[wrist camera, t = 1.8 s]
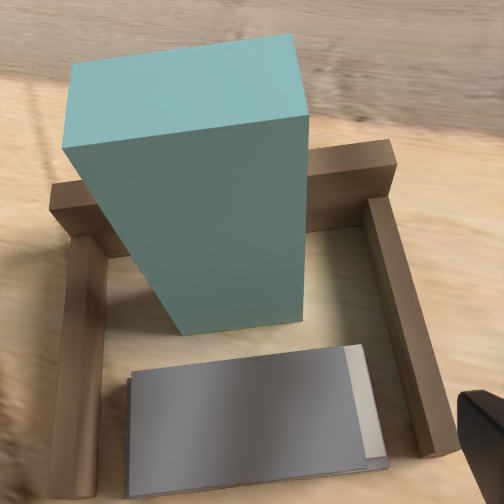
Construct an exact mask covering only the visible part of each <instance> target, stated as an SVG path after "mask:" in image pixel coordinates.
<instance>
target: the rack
mask: <svg viewBox="0 0 504 504" xmlns="http://www.w3.org/2000/svg"><path fill="white" fill-rule="evenodd" d="M396 167H397V162H396V159H395V155H394V152H393V149H392V146H391V143H390V140H389V139H385V140H377V141H370V142H362V143H355V144H347V145H340V146H333V147H325V148H318V149H310V150H308V168H307V199H306V231H305V233H306V232H313V231H321V230H329V229H336V228H344V227H352V226H360V225H362V228H363V232H364V236H365V240H366V244H367V248H368V252H369V256H370V260H371V264H372V267H373V271H374V275H375V279H376V283H377V287H378V291H379V295H380V299H381V303H382V307H383V311H384V315H385V319H386V323H387V327H388V331H389V335H390V339H391V343H392V347H393V351H394V355H395V359H396V363H397V367H398V371H399V375H400V379H401V383H402V387H403V391H404V395H405V398H406V402H407V406H408V410H409V414H410V418H411V422H412V426H413V430H414V434H415V438H416V442H417V446H418V450H419V454H420V458H421V459H422V458H430V457H439V456H445V455H448V454H450V453H453V452H456V451H458V450H461V449H462V448H461V446H460V443H459V439H458V433H457V430H456V426H455V423H454V419H453V416H452V413H451V409H450V406H449V402H448V399H447V396H446V392H445V389H444V385H443V382H442V379H441V375H440V372H439V368H438V365H437V362H436V358H435V355H434V351H433V348H432V345H431V341H430V338H429V334H428V331H427V327H426V324H425V321H424V317H423V314H422V310H421V307H420V304H419V300H418V297H417V293H416V290H415V287H414V283H413V280H412V276H411V273H410V270H409V266H408V263H407V259H406V256H405V253H404V249H403V246H402V242H401V239H400V235H399V232H398V229H397V225H396V222H395V218H394V215H393V212H392V208H391V205H390V201H389V198H388V194H389V191H390V187H391V184H392V180H393V177H394V174H395V170H396ZM49 211H50V212H51V213H52V215H53V216H54V217H55V218H56V220H57V221H58V222H59V223H60V224H61V226H62V227H63V228H64V229H65V231H66V232H67V233H68V234H69V235H70V237H71V246H70V256H69V267H68V277H67V288H66V298H65V309H64V319H63V330H62V340H61V351H60V361H59V372H58V382H57V393H56V403H55V414H54V424H53V435H52V445H51V456H50V466H49V477H48V487H47V498H50V499H68V500H75V499H84V498H92V497H96V484H97V464H98V444H99V425H100V405H101V385H102V366H103V346H104V326H105V306H106V287H107V267H108V258H113V257H120V256H128V255H130V253H129V252H128V250H127V249H126V247H125V246H124V244H123V242H122V241H121V239H120V238H119V236H118V235H117V233H116V232H115V230H114V228H113V227H112V225H111V224H110V222H109V221H108V219H107V218H106V216H105V215H104V213H103V211H102V210H101V208H100V207H99V205H98V204H97V202H96V201H95V199H94V197H93V196H92V194H91V193H90V191H89V190H88V188H87V187H86V185H85V183H84V182H83V180H78V181H70V182H63V183H55V184H52V189H51V197H50V205H49Z"/></svg>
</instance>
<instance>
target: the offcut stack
mask: <svg viewBox="0 0 504 504" xmlns="http://www.w3.org/2000/svg"><path fill="white" fill-rule="evenodd" d="M388 468H390V465H389V461H388V456H387V452H386V447H385V443H384V438H383V434H382V429H381V425H380V420H379V416H378V411H377V407H376V402H375V398H374V393H373V389H372V384H371V380H370V375H369V370H368V366H367V361H366V357H365V352H364V349H362V344H359V345H351V346H336V347H328V348H320V349H312V350H304V351H295V352H287V353H279V354H271V355H263V356H255V357H247V358H239V359H231V360H223V361H215V362H207V363H199V364H191V365H183V366H175V367H166V368H158V369H150V370H142V371H134V372H132V373H131V378H127V404H126V444H125V484H124V499H139V498H147V497H156V496H164V495H172V494H181V493H189V492H198V491H206V490H215V489H223V488H232V487H240V486H249V485H257V484H266V483H274V482H283V481H291V480H300V479H308V478H317V477H325V476H334V475H342V474H351V473H359V472H368V471H376V470H385V469H388Z"/></svg>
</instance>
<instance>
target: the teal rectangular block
mask: <svg viewBox="0 0 504 504" xmlns="http://www.w3.org/2000/svg"><path fill="white" fill-rule="evenodd" d="M308 136H309V112H308V107H307V102H306V98H305V93H304V89H303V84H302V80H301V75H300V70H299V66H298V61H297V57H296V52H295V47H294V43H293V38H292V34H291V33H289V34H282V35H275V36H268V37H261V38H254V39H246V40H239V41H232V42H225V43H218V44H210V45H203V46H196V47H189V48H182V49H175V50H167V51H160V52H153V53H146V54H139V55H132V56H124V57H117V58H110V59H103V60H96V61H88V62H81V63H74V64H72V67H71V76H70V84H69V92H68V101H67V109H66V117H65V126H64V134H63V142H62V149H63V151H64V152H65V154H66V156H67V157H68V159H69V160H70V162H71V163H72V165H73V166H74V168H75V169H76V171H77V173H78V174H79V176H80V177H81V179H82V180H83V182H84V183H85V185H86V187H87V188H88V190H89V191H90V193H91V194H92V196H93V197H94V199H95V201H96V202H97V204H98V205H99V207H100V208H101V210H102V211H103V213H104V215H105V216H106V218H107V219H108V221H109V222H110V224H111V225H112V227H113V228H114V230H115V232H116V233H117V235H118V236H119V238H120V239H121V241H122V242H123V244H124V246H125V247H126V249H127V250H128V252H129V253H130V255H131V256H132V258H133V260H134V261H135V263H136V264H137V266H138V267H139V269H140V270H141V272H142V274H143V275H144V277H145V278H146V280H147V281H148V283H149V284H150V286H151V287H152V289H153V291H154V292H155V294H156V295H157V297H158V298H159V300H160V301H161V303H162V305H163V306H164V308H165V309H166V311H167V312H168V314H169V315H170V317H171V319H172V320H173V322H174V323H175V325H176V326H177V328H178V329H179V331H180V333H181V334H182V336H188V335H196V334H204V333H212V332H219V331H227V330H235V329H243V328H251V327H259V326H267V325H275V324H283V323H291V322H299V321H303V295H304V263H305V231H306V199H307V168H308Z"/></svg>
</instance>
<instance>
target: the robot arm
mask: <svg viewBox="0 0 504 504" xmlns="http://www.w3.org/2000/svg"><path fill="white" fill-rule="evenodd" d="M457 433H458V439H459V443H460V446H461V448H462V451H463V453H464V455H465V457H466V460H467V462H468V464H469V466H470V469H471V471H472V473H473V475H474V477H475V480H476V482H477V484H478V486H479V489H480V491H481V493H482V495H483V498H484V500H485V502H486V504H504V399H503V398H500V397H498V396H496V395H494V394H492V393H490V392H488V391H485V390H472V391H464V392H461V393H460V394H459V395H458V398H457Z"/></svg>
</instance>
